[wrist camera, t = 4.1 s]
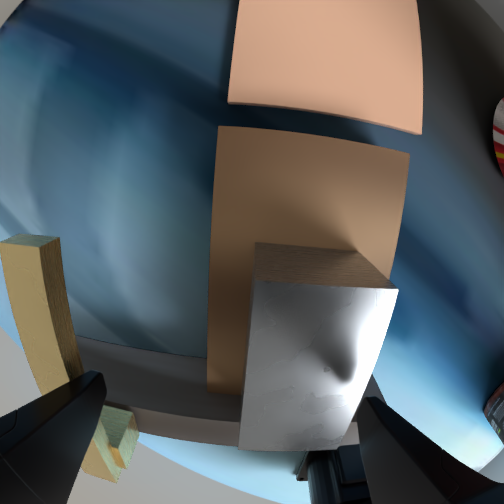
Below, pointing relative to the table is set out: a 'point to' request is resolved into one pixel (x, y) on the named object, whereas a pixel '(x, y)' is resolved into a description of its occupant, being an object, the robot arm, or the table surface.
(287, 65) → the tile
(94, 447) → the clamp bar
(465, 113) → the table surface
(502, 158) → the soda can
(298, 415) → the steel brick
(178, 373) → the body
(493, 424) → the supplement bottle
